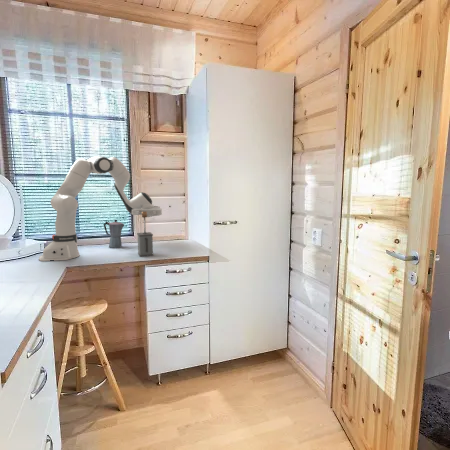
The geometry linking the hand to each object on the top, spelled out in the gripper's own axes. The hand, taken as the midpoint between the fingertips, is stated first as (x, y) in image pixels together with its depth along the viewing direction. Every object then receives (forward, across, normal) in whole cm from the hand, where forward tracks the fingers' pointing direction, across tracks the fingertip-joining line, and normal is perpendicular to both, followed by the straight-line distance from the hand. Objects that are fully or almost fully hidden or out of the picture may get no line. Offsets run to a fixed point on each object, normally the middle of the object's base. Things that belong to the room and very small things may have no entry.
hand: (145, 213), depth 208 cm
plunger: (+10, 0, +18) cm, 20 cm away
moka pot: (-16, -24, +27) cm, 39 cm away
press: (+11, +1, +26) cm, 28 cm away
